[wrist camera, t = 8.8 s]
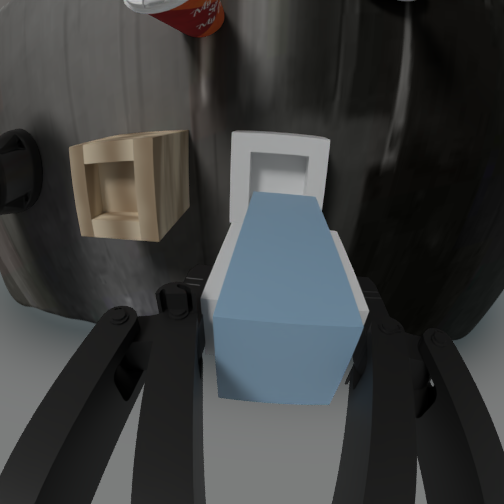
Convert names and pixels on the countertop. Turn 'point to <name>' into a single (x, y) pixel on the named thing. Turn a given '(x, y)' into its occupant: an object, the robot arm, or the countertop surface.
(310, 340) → the plug
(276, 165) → the block
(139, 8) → the paper cup
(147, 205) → the block
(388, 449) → the robot arm
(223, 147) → the countertop surface
